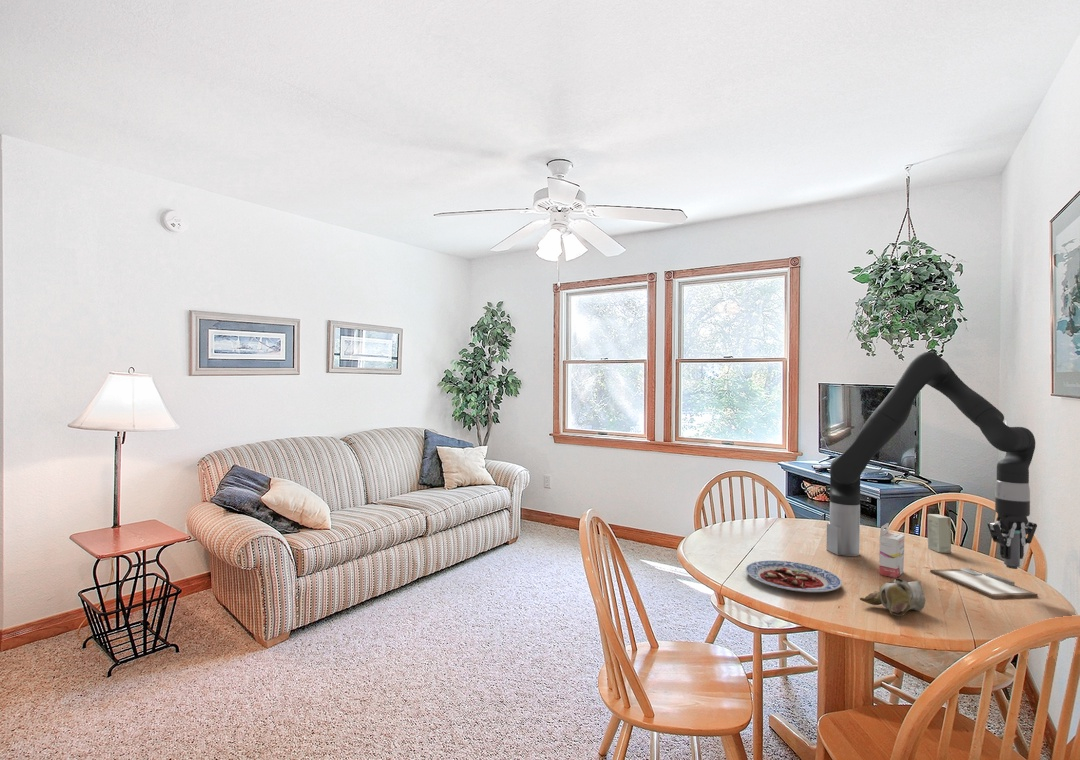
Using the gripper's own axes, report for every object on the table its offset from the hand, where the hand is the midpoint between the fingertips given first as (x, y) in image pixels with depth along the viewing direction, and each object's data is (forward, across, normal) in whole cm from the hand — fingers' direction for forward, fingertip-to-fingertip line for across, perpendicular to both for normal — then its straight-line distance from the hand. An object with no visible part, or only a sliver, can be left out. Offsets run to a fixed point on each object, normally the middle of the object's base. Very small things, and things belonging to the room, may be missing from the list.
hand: (1011, 558), depth 159 cm
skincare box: (+10, +12, +38) cm, 41 cm away
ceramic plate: (+10, -58, +13) cm, 60 cm away
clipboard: (+10, -3, +6) cm, 12 cm away
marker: (+3, 0, 0) cm, 3 cm away
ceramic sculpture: (+10, -43, -9) cm, 45 cm away
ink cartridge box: (+10, -23, +17) cm, 30 cm away
